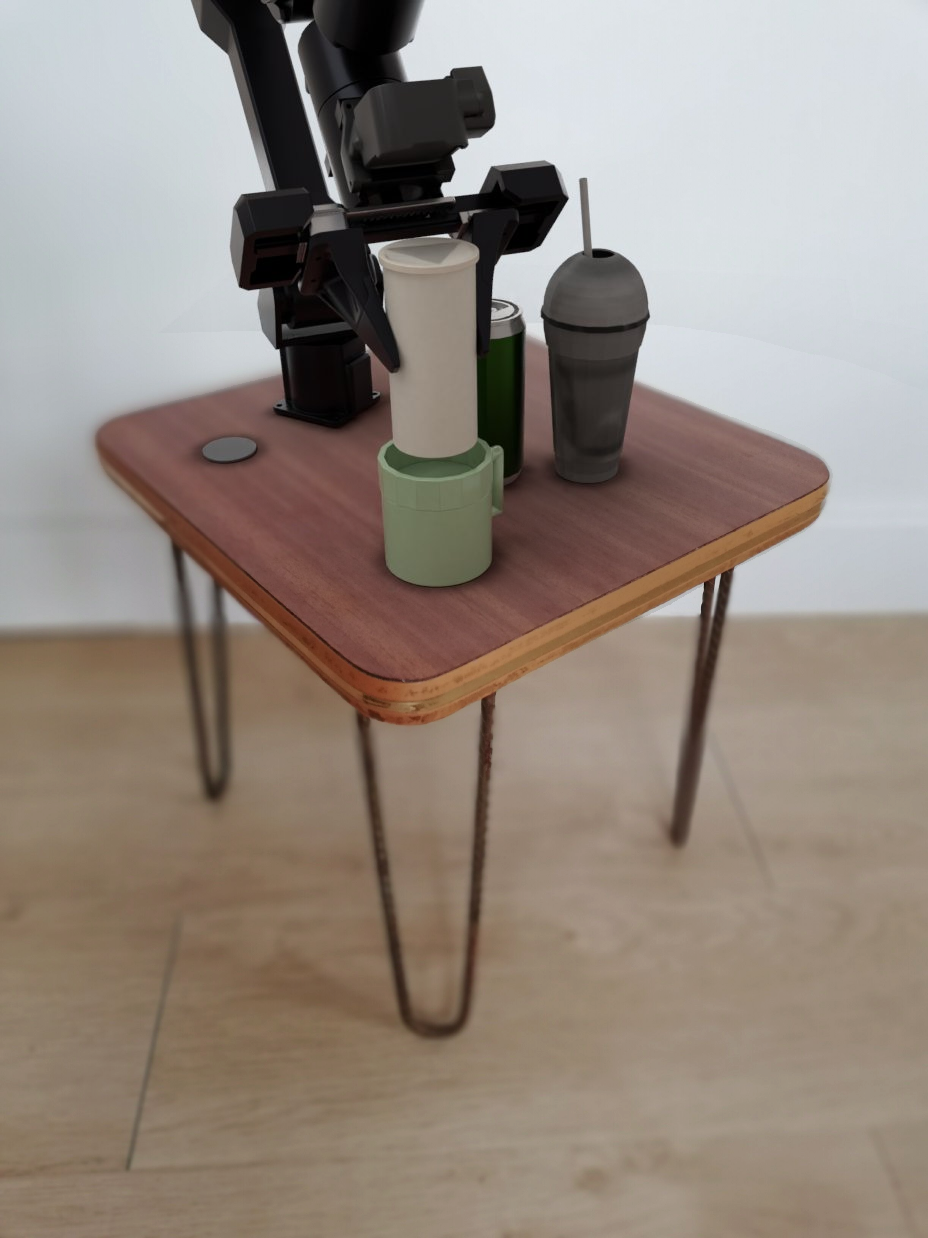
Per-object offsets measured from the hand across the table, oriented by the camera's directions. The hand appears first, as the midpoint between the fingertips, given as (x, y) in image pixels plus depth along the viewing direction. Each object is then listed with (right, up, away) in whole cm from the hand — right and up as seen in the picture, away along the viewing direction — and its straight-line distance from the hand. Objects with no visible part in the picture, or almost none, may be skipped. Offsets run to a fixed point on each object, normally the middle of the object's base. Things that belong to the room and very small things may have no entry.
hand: (440, 362), depth 60 cm
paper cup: (0, -4, +4) cm, 5 cm away
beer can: (+3, -4, +18) cm, 19 cm away
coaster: (-16, -1, +22) cm, 27 cm away
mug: (0, -10, +9) cm, 14 cm away
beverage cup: (+10, -3, +19) cm, 22 cm away
